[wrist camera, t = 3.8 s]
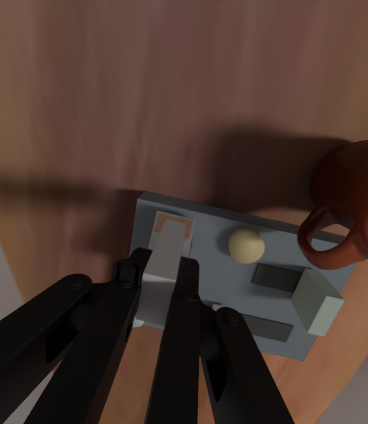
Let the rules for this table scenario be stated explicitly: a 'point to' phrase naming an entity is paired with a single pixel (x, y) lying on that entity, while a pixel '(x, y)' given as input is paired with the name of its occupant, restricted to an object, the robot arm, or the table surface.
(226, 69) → the table surface
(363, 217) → the mug
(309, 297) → the grey block
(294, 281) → the console
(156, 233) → the block
